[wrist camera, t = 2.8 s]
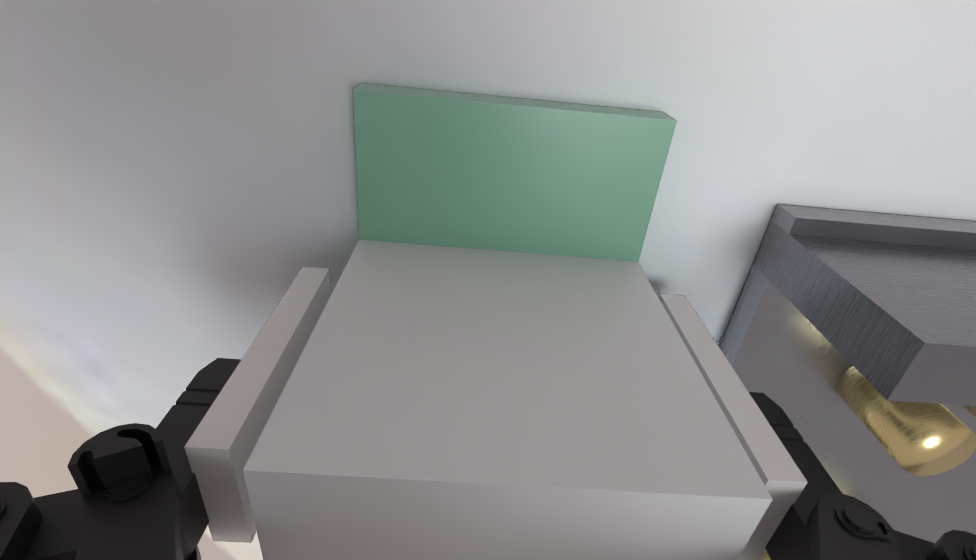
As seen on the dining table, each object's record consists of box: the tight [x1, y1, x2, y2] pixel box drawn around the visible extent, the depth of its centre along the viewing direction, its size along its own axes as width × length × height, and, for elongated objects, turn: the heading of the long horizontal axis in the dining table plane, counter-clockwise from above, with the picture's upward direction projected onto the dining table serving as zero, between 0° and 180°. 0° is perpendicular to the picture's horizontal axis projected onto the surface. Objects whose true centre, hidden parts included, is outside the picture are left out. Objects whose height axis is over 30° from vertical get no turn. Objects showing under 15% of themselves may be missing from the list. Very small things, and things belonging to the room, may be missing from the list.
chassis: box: [719, 204, 976, 560], centre depth 17 cm, size 20×14×6 cm
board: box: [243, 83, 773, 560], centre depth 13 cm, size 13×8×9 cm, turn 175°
